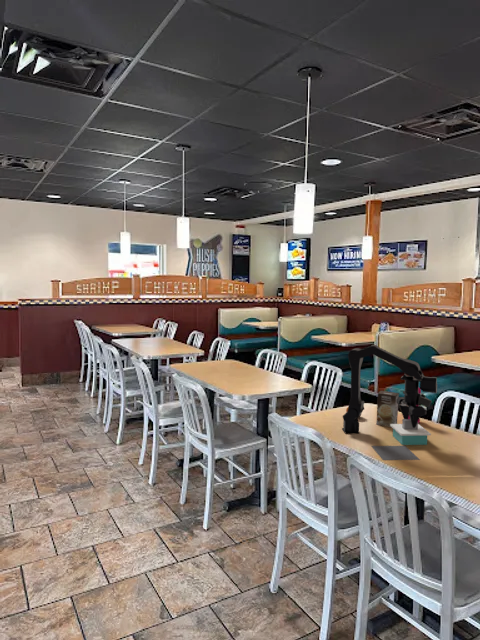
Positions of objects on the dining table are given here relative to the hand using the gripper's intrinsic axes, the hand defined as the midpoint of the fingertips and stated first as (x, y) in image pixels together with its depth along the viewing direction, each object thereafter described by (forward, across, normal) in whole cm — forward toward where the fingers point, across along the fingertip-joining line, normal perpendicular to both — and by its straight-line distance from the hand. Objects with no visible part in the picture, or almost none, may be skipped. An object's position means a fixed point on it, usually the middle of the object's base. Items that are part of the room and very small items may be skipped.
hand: (410, 424), depth 201 cm
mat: (+8, -14, +12) cm, 20 cm away
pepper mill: (+8, +27, -13) cm, 31 cm away
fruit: (+8, +35, +15) cm, 39 cm away
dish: (+8, 0, 0) cm, 8 cm away
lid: (+3, 0, 0) cm, 3 cm away
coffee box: (+8, +23, +2) cm, 24 cm away
